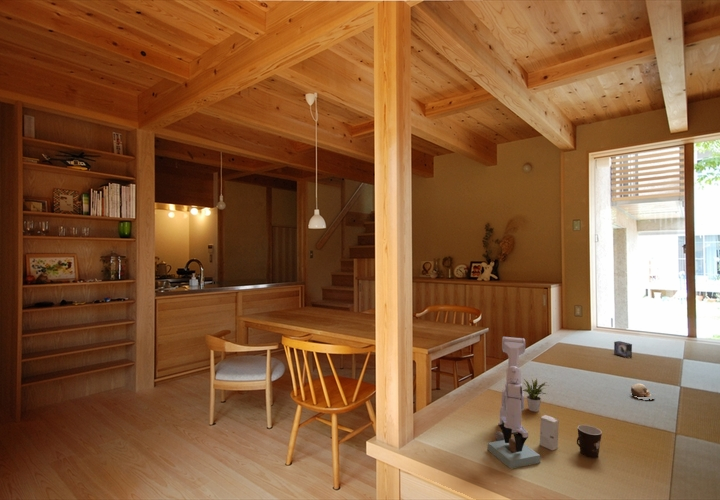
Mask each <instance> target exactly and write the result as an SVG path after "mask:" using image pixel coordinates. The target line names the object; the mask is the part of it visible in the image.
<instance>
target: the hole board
mask: <svg viewBox="0 0 720 500" xmlns="http://www.w3.org/2000/svg"><path fill="white" fill-rule="evenodd" d="M487 451H488V452H490V453H491V454H492V455H493V456H494V457H496V458H497V459H498V460H499V461H500V462H501V463H503V464H504V465H505V466H506V467H508V468H509V469H515V468H516V469H517V468H521V467H527V466H531V465H535V464H540V463H541V455H540V454H539V453H538V452H536V451H535V450H533V449H532V448H531V447H529V445H526V444H525V443H524V445H523V448H522V451H520V452H515V453H512V452H510V451H509V443H505V440H501V441H496V442H495V441H490V442H487Z"/></svg>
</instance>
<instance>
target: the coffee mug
mask: <svg viewBox="0 0 720 500" xmlns="http://www.w3.org/2000/svg"><path fill="white" fill-rule="evenodd" d="M602 434H603V433H602V430H601V429H600V428H598V427H596V426H592V425H589V424H579V425H578V426H577V435H578V436H577V438H576V445H577V446H578V447H579V452H580V454H581V455H582V456H584V457H585V458H586V457H587V458H590V459H597V458H599V453H600V448H601V447H600V446H601V442H602V440H601V439H602Z"/></svg>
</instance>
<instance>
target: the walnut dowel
mask: <svg viewBox="0 0 720 500" xmlns="http://www.w3.org/2000/svg"><path fill="white" fill-rule="evenodd" d="M509 451H510V452H512V453H515V452H517V451H516V443H515V438H514V437H511V438H510V439H509Z"/></svg>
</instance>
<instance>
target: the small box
mask: <svg viewBox="0 0 720 500" xmlns="http://www.w3.org/2000/svg"><path fill="white" fill-rule="evenodd" d="M613 343H614V344H613V345H614V346H613V351H614V353H613V354H614V355H616V356H619V357H623V358H625V357H626V358H627V357H630V358H633V344H632V343H629V342H625V341H621V340H618V341H614V342H613ZM627 359H628V358H627Z"/></svg>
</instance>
